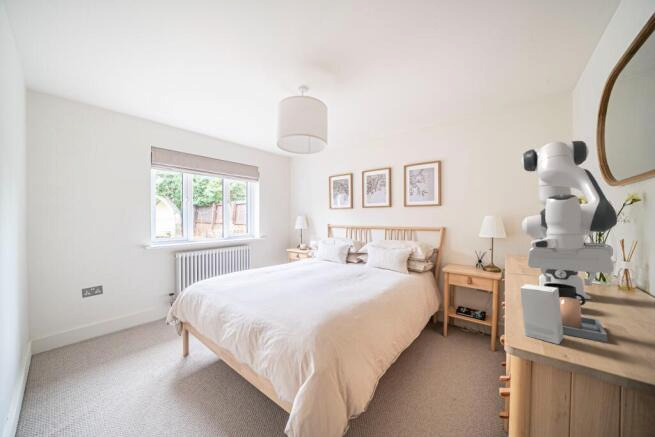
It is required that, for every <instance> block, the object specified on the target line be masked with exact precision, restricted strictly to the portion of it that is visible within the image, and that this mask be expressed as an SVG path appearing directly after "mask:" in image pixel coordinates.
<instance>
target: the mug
mask: <svg viewBox="0 0 655 437" xmlns="http://www.w3.org/2000/svg"><path fill="white" fill-rule="evenodd" d="M544 286H547V287H555V288H558V292H559V297H568V298H574V299H577V296H579V297H581V299H580V300H581V301H582V302H580V305H581V306H584V305H585V304H586V301H587V299H585V298H584V297H583V296H582V295H580V294H577V293H576V287H574V286H571V285H566V284H559V283H546V284H544ZM577 300H578V299H577Z"/></svg>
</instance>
